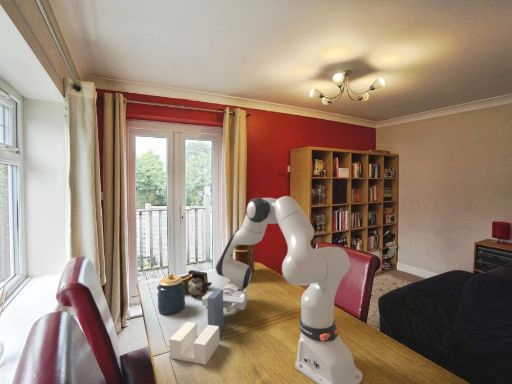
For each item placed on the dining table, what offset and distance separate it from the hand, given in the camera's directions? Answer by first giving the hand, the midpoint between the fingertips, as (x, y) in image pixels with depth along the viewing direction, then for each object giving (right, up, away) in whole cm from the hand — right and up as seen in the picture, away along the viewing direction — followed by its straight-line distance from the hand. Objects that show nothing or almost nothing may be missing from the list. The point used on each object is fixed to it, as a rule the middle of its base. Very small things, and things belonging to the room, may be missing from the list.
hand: (217, 309), depth 114 cm
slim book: (0, -9, -1) cm, 9 cm away
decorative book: (+9, -6, +61) cm, 62 cm away
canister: (-25, -8, +19) cm, 33 cm away
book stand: (-6, -10, -14) cm, 18 cm away
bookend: (-17, -8, +37) cm, 41 cm away
